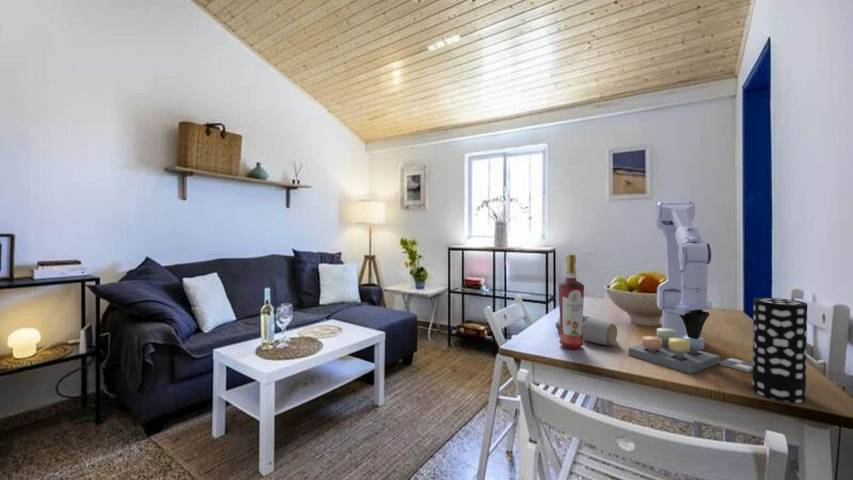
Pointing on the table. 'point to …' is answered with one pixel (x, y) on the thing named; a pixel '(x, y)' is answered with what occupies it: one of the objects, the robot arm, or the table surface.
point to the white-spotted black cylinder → (780, 349)
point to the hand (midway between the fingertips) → (693, 338)
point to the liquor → (571, 307)
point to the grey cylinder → (599, 331)
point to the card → (738, 364)
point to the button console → (668, 359)
